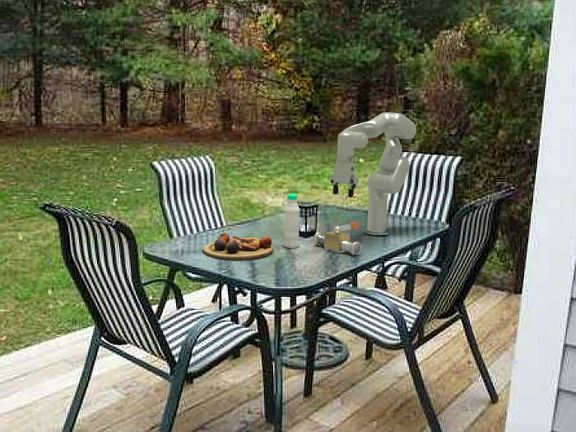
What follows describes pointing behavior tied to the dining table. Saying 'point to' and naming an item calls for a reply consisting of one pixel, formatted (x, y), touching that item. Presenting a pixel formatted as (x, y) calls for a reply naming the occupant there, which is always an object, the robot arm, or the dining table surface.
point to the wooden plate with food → (238, 248)
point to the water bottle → (291, 222)
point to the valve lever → (346, 227)
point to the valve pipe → (337, 242)
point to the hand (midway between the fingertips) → (342, 195)
